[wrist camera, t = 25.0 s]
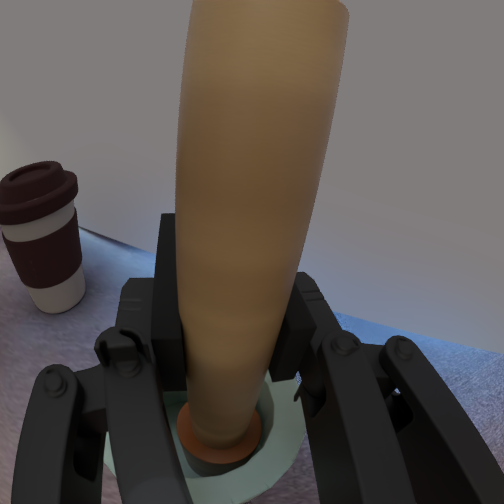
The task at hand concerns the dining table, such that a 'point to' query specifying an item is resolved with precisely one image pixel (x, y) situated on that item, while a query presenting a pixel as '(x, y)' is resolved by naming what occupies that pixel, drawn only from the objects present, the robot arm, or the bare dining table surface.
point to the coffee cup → (44, 233)
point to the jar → (264, 457)
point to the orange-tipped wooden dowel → (245, 201)
